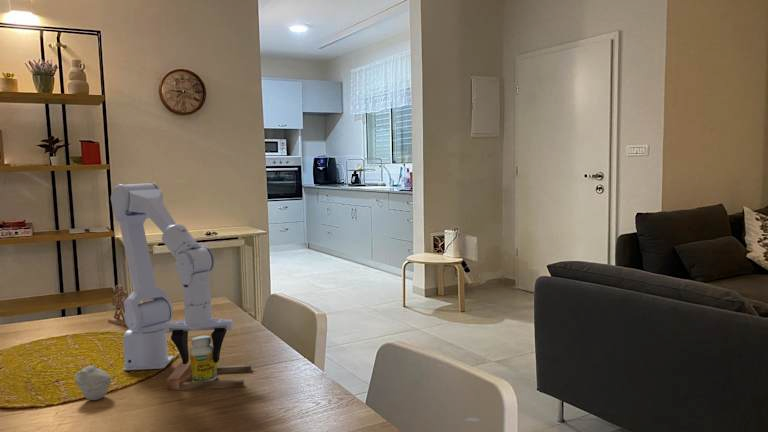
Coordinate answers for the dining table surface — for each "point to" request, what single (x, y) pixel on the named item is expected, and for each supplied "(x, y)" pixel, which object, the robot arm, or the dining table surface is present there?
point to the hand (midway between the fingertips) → (201, 362)
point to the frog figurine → (93, 382)
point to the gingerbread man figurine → (118, 319)
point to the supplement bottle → (202, 360)
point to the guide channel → (184, 371)
